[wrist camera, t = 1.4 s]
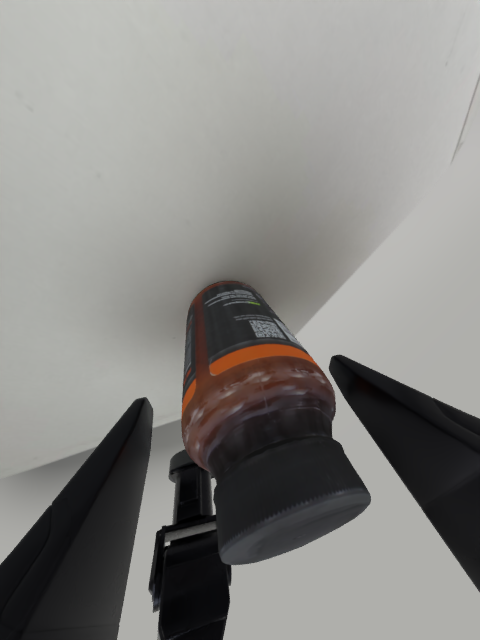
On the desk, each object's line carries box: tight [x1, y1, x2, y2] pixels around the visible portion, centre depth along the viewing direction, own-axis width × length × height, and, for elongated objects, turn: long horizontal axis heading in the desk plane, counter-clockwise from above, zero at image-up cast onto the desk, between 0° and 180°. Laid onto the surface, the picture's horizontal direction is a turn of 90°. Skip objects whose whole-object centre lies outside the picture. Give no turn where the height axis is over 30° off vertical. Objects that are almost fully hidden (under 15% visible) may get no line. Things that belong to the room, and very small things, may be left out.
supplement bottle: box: [181, 281, 371, 565], centre depth 9 cm, size 6×6×11 cm
